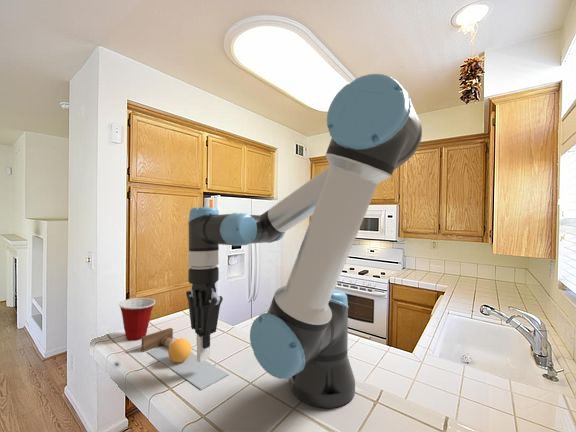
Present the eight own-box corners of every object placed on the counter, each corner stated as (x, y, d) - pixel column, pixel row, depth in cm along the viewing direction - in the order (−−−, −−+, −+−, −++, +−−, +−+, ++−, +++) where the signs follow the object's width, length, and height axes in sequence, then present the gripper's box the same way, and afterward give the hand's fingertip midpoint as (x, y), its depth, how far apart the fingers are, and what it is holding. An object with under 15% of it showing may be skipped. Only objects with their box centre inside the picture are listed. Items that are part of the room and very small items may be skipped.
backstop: (172, 341, 85) (172, 329, 85) (143, 351, 78) (143, 338, 78) (170, 340, 86) (170, 327, 86) (141, 350, 79) (141, 336, 79)
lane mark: (228, 374, 67) (228, 374, 67) (201, 390, 60) (201, 389, 60) (173, 343, 84) (173, 342, 84) (147, 352, 78) (147, 351, 78)
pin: (182, 352, 79) (165, 345, 83) (185, 344, 80) (169, 336, 84) (175, 351, 77) (159, 344, 82) (179, 342, 78) (163, 335, 83)
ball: (181, 342, 78) (191, 359, 75) (161, 352, 73) (171, 371, 71) (187, 330, 76) (198, 348, 73) (167, 339, 71) (178, 358, 68)
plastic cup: (138, 346, 82) (139, 307, 82) (109, 342, 84) (110, 305, 84) (161, 332, 92) (162, 298, 93) (135, 329, 94) (136, 296, 95)
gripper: (231, 267, 67) (231, 361, 66) (202, 263, 75) (201, 347, 74) (206, 271, 61) (205, 374, 60) (177, 266, 69) (176, 357, 68)
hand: (203, 359), depth 67 cm, fingers closed
